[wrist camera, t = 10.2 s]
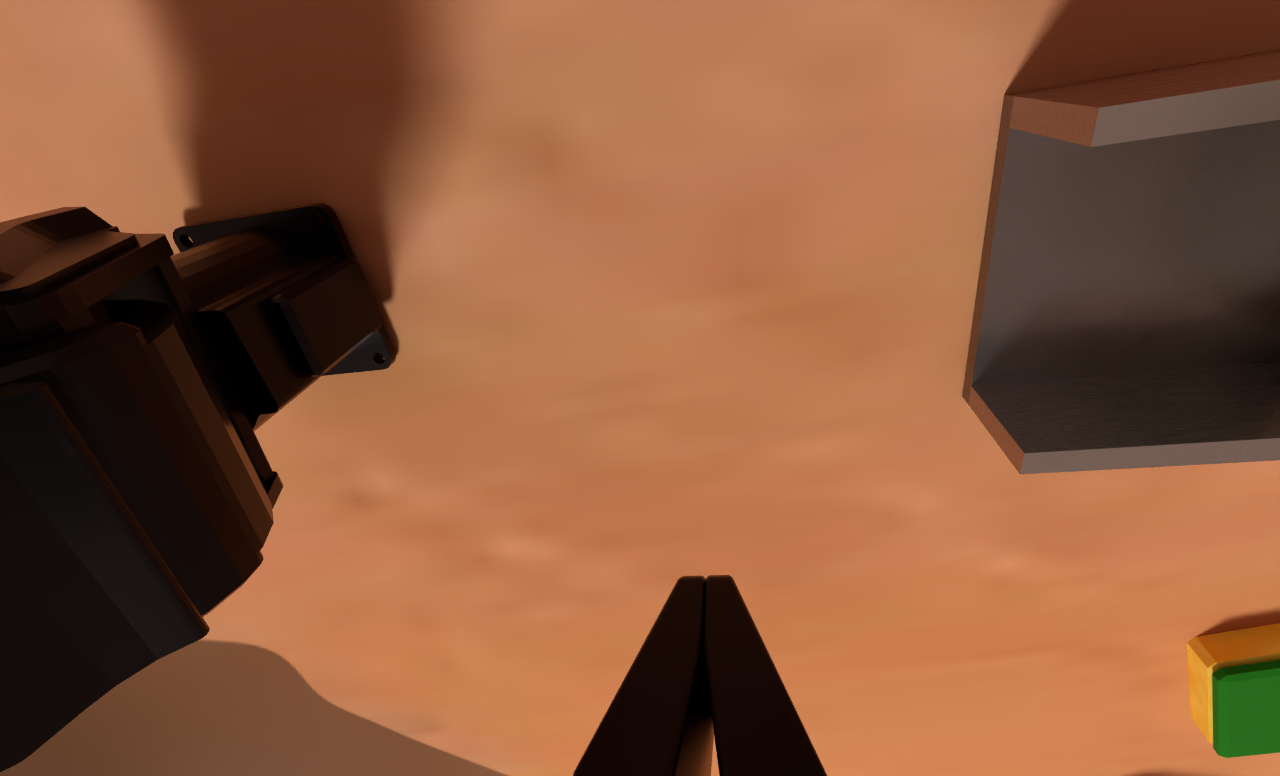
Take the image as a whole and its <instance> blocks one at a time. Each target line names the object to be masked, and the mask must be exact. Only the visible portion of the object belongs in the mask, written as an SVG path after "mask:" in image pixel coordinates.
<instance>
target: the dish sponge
mask: <svg viewBox="0 0 1280 776" xmlns="http://www.w3.org/2000/svg"><path fill="white" fill-rule="evenodd" d="M1187 652H1188V670H1189V687H1190V705H1191V718H1192V719H1193V721H1194V722H1195V723H1196V725H1197V726H1198V727H1199V729H1200V730H1201V732H1202V733H1203V734H1204V736H1205V737H1206V739H1207V740H1208V741H1209V742H1211V743H1213V748H1214V750H1215V751H1216V752H1217V754H1218V755H1220V756H1223V757H1226V758H1230V757H1239V756H1249V755H1259V754H1269V753H1278V752H1280V623H1277V624H1271V625H1265V626H1259V627H1253V628H1247V629H1240V630H1234V631H1228V632H1222V633H1216V634H1210V635H1203V636H1197V637H1194V638H1193V639H1191V640H1190V641H1189V642H1187Z"/></svg>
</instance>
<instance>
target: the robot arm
mask: <svg viewBox="0 0 1280 776" xmlns="http://www.w3.org/2000/svg"><path fill="white" fill-rule="evenodd" d="M317 214H320V215H321V216H322V217H323V218H324V221H325V224H323V223H321V222H320V221H319V219H318V217H317ZM188 236H189V237H190V238H191V239H192V241H193V243H192V242H191V241H190V239H189V237H188ZM173 239H174V241H175V244H176V245H177V247H178V249H179V250H180V252H181V253H178V254H175V255H173V254H174V253H173V251H172V249H171V247H170V244H169V242H168V240H167V238H166V236H165V234H133V233H122V232H120V231H119V229H118V227H117V226H111V225H110V224H108V223H107V222H106V221H104V220H103V219H101V218H100V217H98V216H97V215H96V214H94V213H93V212H91V211H90V210H89V209H87V208H86V207H63V208H59V209H55V210H50V211H46V212H42V213H38V214H33V215H29V216H25V217H21V218H17V219H13V220H9V221H5V222H2V223H0V772H1V771H4V770H6V769H8V768H10V767H12V766H14V765H16V764H18V763H19V762H21V761H23V760H24V759H25V758H27V757H28V756H30V755H31V754H32V753H33V752H34V751H36V750H37V749H38V748H39V747H40V746H42V745H43V744H44V743H45V742H46V741H48V740H49V739H50V738H51V737H53V736H54V735H55V734H56V733H57V732H58V731H60V730H61V729H62V728H63V727H65V726H66V725H67V724H68V723H69V722H71V721H72V720H73V719H74V718H75V717H77V716H78V715H79V714H80V713H81V712H83V711H84V710H85V709H86V708H88V707H89V706H90V705H91V704H93V703H94V702H95V701H97V700H98V699H99V698H100V697H102V696H103V695H104V694H106V693H107V692H108V691H110V690H111V689H112V688H114V687H115V686H116V685H118V684H119V683H121V682H122V681H124V680H126V679H127V678H129V677H131V676H132V675H134V674H135V673H137V672H139V671H140V670H142V669H143V668H145V667H146V666H148V665H150V664H151V663H153V662H154V661H156V660H158V659H160V658H162V657H164V656H166V655H168V654H170V653H172V652H174V651H177V650H179V649H181V648H183V647H185V646H187V645H189V644H191V643H193V642H195V641H198V640H200V639H201V638H203V637H204V636H206V635H207V633H208V632H209V629H210V628H209V626H208V625H207V623H206V622H205V621H204V619H203V618H202V617H204V616H205V615H207V614H208V613H210V612H211V611H212V610H213V609H214V608H216V607H217V606H218V605H219V604H220V603H222V602H223V601H224V600H225V599H227V598H228V597H229V596H230V595H231V594H233V593H234V592H235V591H236V590H237V589H239V588H240V587H241V586H242V585H243V584H244V583H245V582H246V580H247V579H248V578H249V577H250V576H251V575H252V574H253V573H254V571H255V570H256V569H257V568H258V567H259V566H260V564H261V563H262V561H263V555H262V553H261V551H260V550H261V548H262V547H263V545H264V543H265V541H266V538H267V536H268V534H269V532H270V529H271V527H272V525H273V512H272V509H273V507H274V505H275V503H276V501H277V498H278V496H279V494H280V492H281V490H282V488H283V484H282V482H281V480H280V478H279V476H278V474H277V472H274V471H272V469H271V467H270V465H269V463H268V461H267V459H266V456H265V454H264V452H263V450H262V448H261V446H260V444H259V442H258V440H257V438H256V435H255V433H254V431H255V430H256V429H258V428H259V427H260V426H261V425H262V424H264V423H265V422H266V421H267V420H268V419H270V418H271V417H272V416H273V415H275V414H276V413H277V412H278V411H279V410H281V409H282V408H283V407H284V406H285V405H287V404H288V403H289V402H290V401H292V400H293V399H294V398H295V397H296V396H298V395H299V394H300V393H301V392H302V391H304V390H305V389H306V388H307V387H309V386H310V385H311V384H312V383H313V382H315V381H316V380H317V379H318V378H320V377H321V376H324V375H334V374H343V373H353V372H363V371H372V370H382V369H386V368H388V367H389V366H390V365H391V364H392V363H393V362H394V361H395V359H396V355H395V352H394V349H393V347H392V344H391V342H390V340H389V337H388V335H387V333H386V330H385V328H384V326H383V323H382V318H381V316H380V314H379V311H378V309H377V307H376V304H375V302H374V300H373V297H372V295H371V293H370V290H369V288H368V285H367V283H366V281H365V278H364V276H363V274H362V271H361V269H360V267H359V264H358V263H357V262H356V260H355V258H354V255H353V253H352V250H351V248H350V246H349V243H348V241H347V239H346V236H345V234H344V232H343V229H342V227H341V225H340V222H339V220H338V218H337V215H336V214H335V212H334V210H333V209H331V208H330V207H329V206H327V205H325V204H321V203H317V204H311V205H305V206H299V207H293V208H286V209H280V210H274V211H268V212H262V213H256V214H250V215H244V216H238V217H232V218H226V219H220V220H214V221H208V222H201V223H195V224H189V225H185V226H182V227H179V228H177V229H175V230H174V232H173ZM172 255H173V256H172ZM378 353H380V354H382V355H383V356H384V358H385V359H382V358H381V357H380V356H379V355H378ZM714 736H715V744H716V751H717V759H718V766H719V774H720V776H827V774H826V772H825V770H824V768H823V766H822V764H821V762H820V760H819V757H818V755H817V753H816V751H815V749H814V747H813V745H812V743H811V741H810V739H809V736H808V734H807V732H806V730H805V728H804V726H803V724H802V722H801V720H800V718H799V716H798V713H797V711H796V709H795V707H794V705H793V703H792V701H791V699H790V697H789V695H788V693H787V690H786V688H785V686H784V684H783V682H782V680H781V678H780V676H779V674H778V672H777V669H776V667H775V665H774V663H773V661H772V659H771V657H770V655H769V653H768V651H767V649H766V646H765V644H764V642H763V640H762V638H761V636H760V634H759V632H758V630H757V628H756V625H755V623H754V621H753V619H752V617H751V615H750V613H749V611H748V609H747V607H746V605H745V602H744V600H743V598H742V596H741V594H740V592H739V590H738V588H737V586H736V584H735V582H734V580H733V578H732V577H731V576H729V575H710V576H708V577H707V578H706V579H705V578H704V577H703V576H683V577H681V578H679V579H678V581H677V583H676V584H675V586H674V588H673V590H672V592H671V594H670V595H669V597H668V599H667V601H666V603H665V605H664V607H663V608H662V610H661V612H660V614H659V616H658V618H657V620H656V621H655V623H654V625H653V627H652V629H651V631H650V632H649V634H648V636H647V638H646V640H645V642H644V644H643V645H642V647H641V649H640V651H639V653H638V655H637V657H636V658H635V660H634V662H633V664H632V666H631V668H630V669H629V671H628V673H627V675H626V677H625V679H624V681H623V682H622V684H621V686H620V688H619V690H618V692H617V693H616V695H615V697H614V699H613V701H612V703H611V705H610V706H609V708H608V710H607V712H606V714H605V716H604V718H603V719H602V721H601V723H600V725H599V727H598V729H597V730H596V732H595V734H594V736H593V738H592V740H591V742H590V743H589V745H588V747H587V749H586V751H585V753H584V754H583V756H582V758H581V760H580V762H579V764H578V766H577V767H576V769H575V771H574V773H573V776H711V764H712V751H713V739H714Z"/></svg>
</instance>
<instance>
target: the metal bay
mask: <svg viewBox="0 0 1280 776" xmlns="http://www.w3.org/2000/svg"><path fill="white" fill-rule="evenodd" d="M962 397H963V398H964V399H965V401H966V402H967V403H968V405H969V406H970V407H971V409H972V410H973V411H974V413H975V414H976V415H977V417H978V418H979V419H980V421H981V422H982V424H983V425H984V426H985V428H986V429H987V430H988V432H989V433H990V434H991V436H992V437H993V438H994V440H995V441H996V442H997V444H998V445H999V447H1000V448H1001V449H1002V451H1003V452H1004V453H1005V455H1006V456H1007V457H1008V459H1009V460H1010V461H1011V463H1012V464H1013V465H1014V467H1015V468H1016V470H1017V471H1018V472H1019V474H1034V473H1052V472H1071V471H1089V470H1108V469H1126V468H1145V467H1163V466H1181V465H1200V464H1218V463H1237V462H1255V461H1274V460H1280V50H1278V51H1271V52H1265V53H1259V54H1253V55H1247V56H1241V57H1235V58H1229V59H1222V60H1216V61H1210V62H1204V63H1198V64H1192V65H1186V66H1180V67H1173V68H1167V69H1161V70H1155V71H1149V72H1143V73H1137V74H1131V75H1124V76H1118V77H1112V78H1106V79H1100V80H1094V81H1088V82H1082V83H1075V84H1069V85H1063V86H1057V87H1051V88H1045V89H1039V90H1033V91H1026V92H1020V93H1014V94H1008V95H1004V101H1003V108H1002V115H1001V123H1000V130H999V137H998V144H997V151H996V158H995V166H994V173H993V180H992V187H991V194H990V201H989V208H988V216H987V223H986V230H985V237H984V244H983V251H982V259H981V266H980V273H979V280H978V287H977V294H976V301H975V309H974V316H973V323H972V330H971V337H970V344H969V352H968V359H967V366H966V373H965V380H964V387H963V395H962Z"/></svg>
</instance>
